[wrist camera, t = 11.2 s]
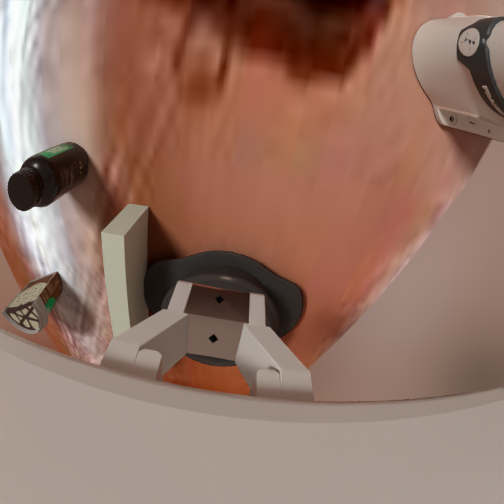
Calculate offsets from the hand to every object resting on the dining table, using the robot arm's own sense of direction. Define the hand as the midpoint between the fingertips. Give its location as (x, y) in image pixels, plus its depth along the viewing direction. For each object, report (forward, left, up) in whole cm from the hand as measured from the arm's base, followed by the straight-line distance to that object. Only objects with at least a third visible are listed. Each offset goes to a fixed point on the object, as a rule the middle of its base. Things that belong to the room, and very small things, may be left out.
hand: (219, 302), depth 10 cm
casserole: (0, +23, -29) cm, 37 cm away
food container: (+33, +30, -29) cm, 53 cm away
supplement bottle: (+25, +5, -29) cm, 39 cm away
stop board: (+13, +23, -29) cm, 39 cm away
